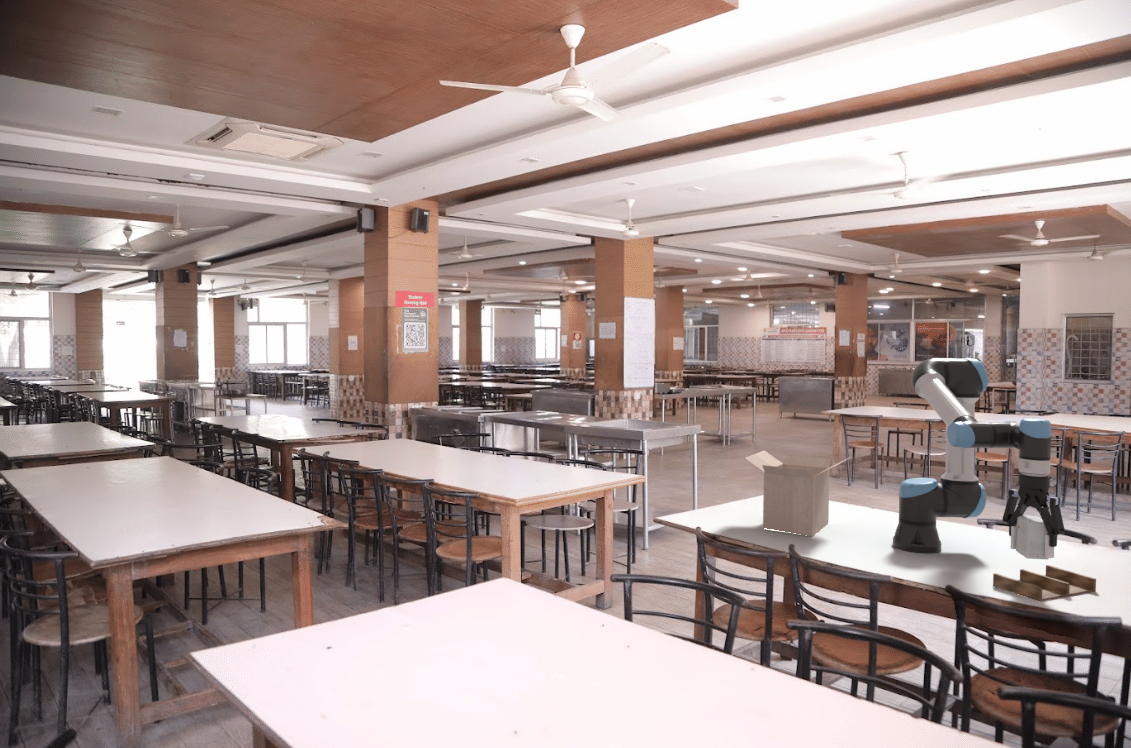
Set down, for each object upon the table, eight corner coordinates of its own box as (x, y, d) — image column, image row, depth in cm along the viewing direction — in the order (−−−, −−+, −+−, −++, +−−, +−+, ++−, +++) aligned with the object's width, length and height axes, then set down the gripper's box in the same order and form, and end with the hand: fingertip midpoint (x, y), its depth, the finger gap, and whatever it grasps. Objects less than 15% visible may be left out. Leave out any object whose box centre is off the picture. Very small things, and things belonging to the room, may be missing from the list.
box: (850, 524, 290) (852, 456, 289) (831, 542, 265) (833, 467, 263) (765, 513, 308) (766, 449, 307) (740, 529, 282) (741, 458, 281)
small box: (1048, 560, 209) (1050, 522, 208) (1026, 558, 210) (1027, 521, 209) (1036, 552, 216) (1038, 515, 216) (1015, 550, 218) (1016, 514, 217)
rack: (992, 585, 218) (993, 573, 218) (1047, 576, 226) (1048, 565, 226) (1039, 601, 205) (1039, 588, 205) (1095, 591, 213) (1096, 578, 213)
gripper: (989, 468, 221) (987, 544, 222) (1063, 481, 200) (1061, 565, 201) (1007, 467, 224) (1005, 542, 225) (1082, 479, 203) (1080, 562, 204)
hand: (1031, 552), depth 213 cm, fingers closed on small box, 9 cm apart
